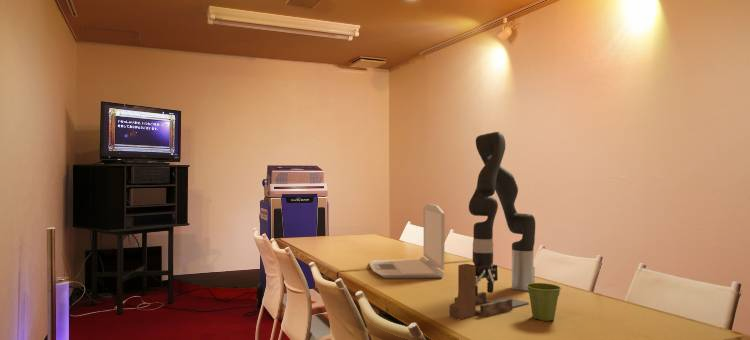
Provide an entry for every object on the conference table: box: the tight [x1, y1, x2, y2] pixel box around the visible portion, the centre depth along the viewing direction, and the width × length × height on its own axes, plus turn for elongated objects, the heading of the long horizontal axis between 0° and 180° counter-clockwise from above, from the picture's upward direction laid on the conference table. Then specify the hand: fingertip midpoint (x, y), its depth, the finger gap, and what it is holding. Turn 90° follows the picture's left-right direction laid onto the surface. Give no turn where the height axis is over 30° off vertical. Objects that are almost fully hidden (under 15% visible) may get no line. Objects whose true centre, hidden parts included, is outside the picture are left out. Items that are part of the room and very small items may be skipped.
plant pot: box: [526, 282, 562, 322], centre depth 174 cm, size 12×12×11 cm
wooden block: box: [449, 263, 477, 320], centre depth 175 cm, size 9×4×18 cm, turn 128°
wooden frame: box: [454, 291, 513, 318], centre depth 185 cm, size 16×14×4 cm
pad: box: [489, 296, 530, 309], centre depth 194 cm, size 10×11×1 cm
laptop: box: [369, 203, 446, 279], centre depth 256 cm, size 42×33×35 cm
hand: (482, 294), depth 185 cm, fingers open, 8 cm apart
